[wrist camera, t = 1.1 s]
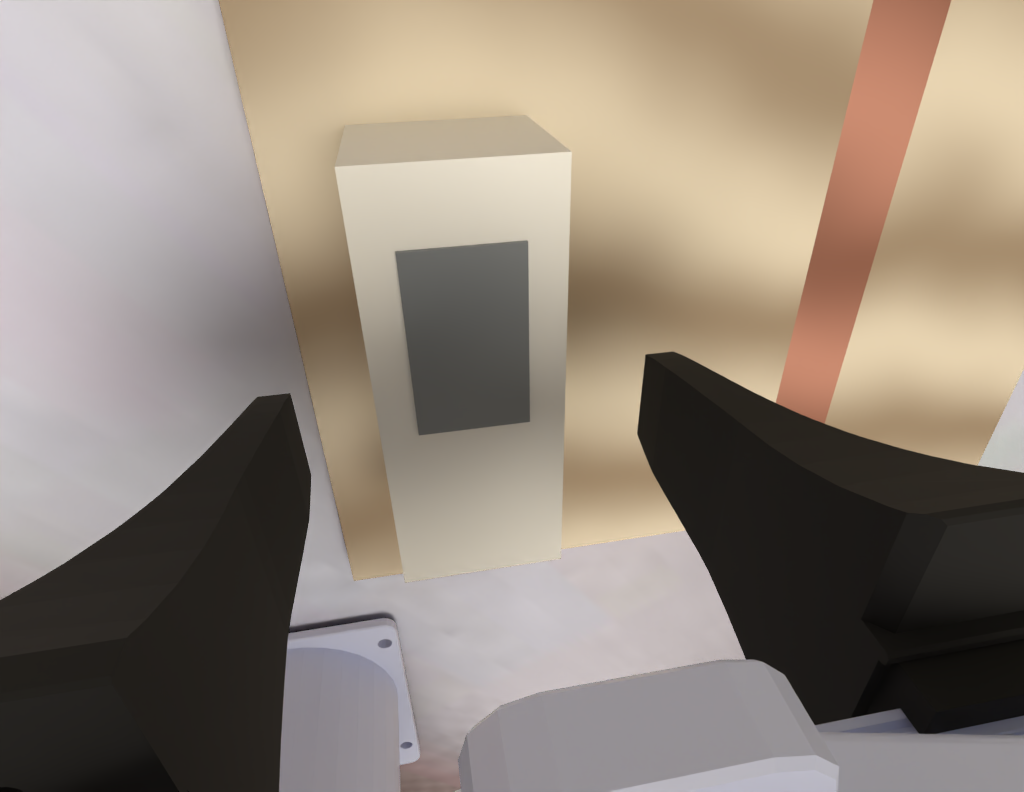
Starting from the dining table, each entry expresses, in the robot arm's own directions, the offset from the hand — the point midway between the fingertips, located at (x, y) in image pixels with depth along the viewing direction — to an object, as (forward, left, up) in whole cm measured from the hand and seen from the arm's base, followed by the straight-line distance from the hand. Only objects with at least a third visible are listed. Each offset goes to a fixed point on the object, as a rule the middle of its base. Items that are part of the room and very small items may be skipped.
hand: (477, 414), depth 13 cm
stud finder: (0, 0, -4) cm, 4 cm away
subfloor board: (0, -7, -5) cm, 9 cm away
